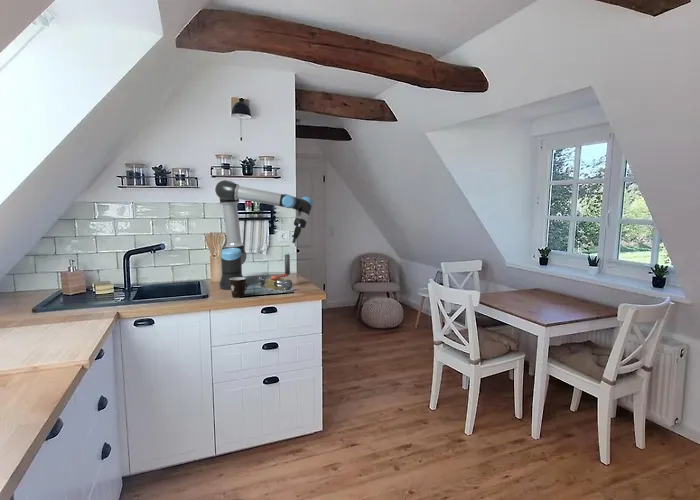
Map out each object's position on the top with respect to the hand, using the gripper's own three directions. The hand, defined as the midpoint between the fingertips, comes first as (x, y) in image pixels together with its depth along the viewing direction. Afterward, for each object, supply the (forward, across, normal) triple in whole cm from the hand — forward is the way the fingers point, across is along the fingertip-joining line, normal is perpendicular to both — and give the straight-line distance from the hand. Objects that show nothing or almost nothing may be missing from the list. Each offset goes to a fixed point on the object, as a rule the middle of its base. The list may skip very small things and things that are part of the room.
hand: (290, 251), depth 251 cm
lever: (+17, +2, +1) cm, 17 cm away
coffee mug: (+38, -15, +18) cm, 45 cm away
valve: (+25, +2, +2) cm, 25 cm away
